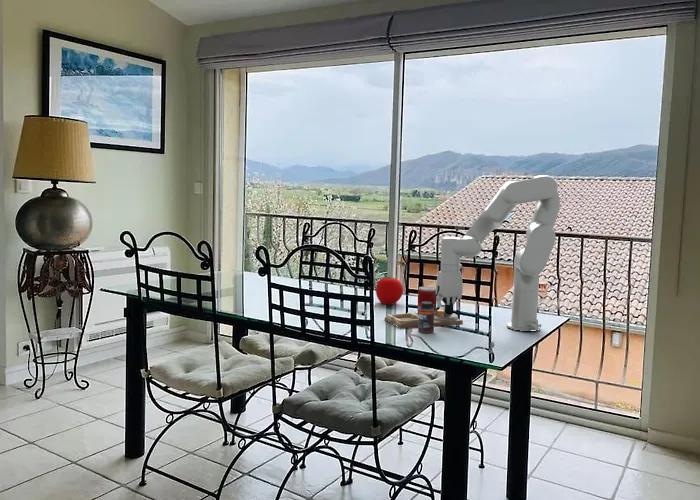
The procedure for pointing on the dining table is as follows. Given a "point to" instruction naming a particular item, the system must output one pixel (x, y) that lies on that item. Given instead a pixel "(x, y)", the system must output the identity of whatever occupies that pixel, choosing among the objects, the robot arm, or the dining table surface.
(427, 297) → the canned food
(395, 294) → the tomato
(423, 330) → the supplement bottle
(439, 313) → the grey lever handle
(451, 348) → the dining table surface
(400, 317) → the board
